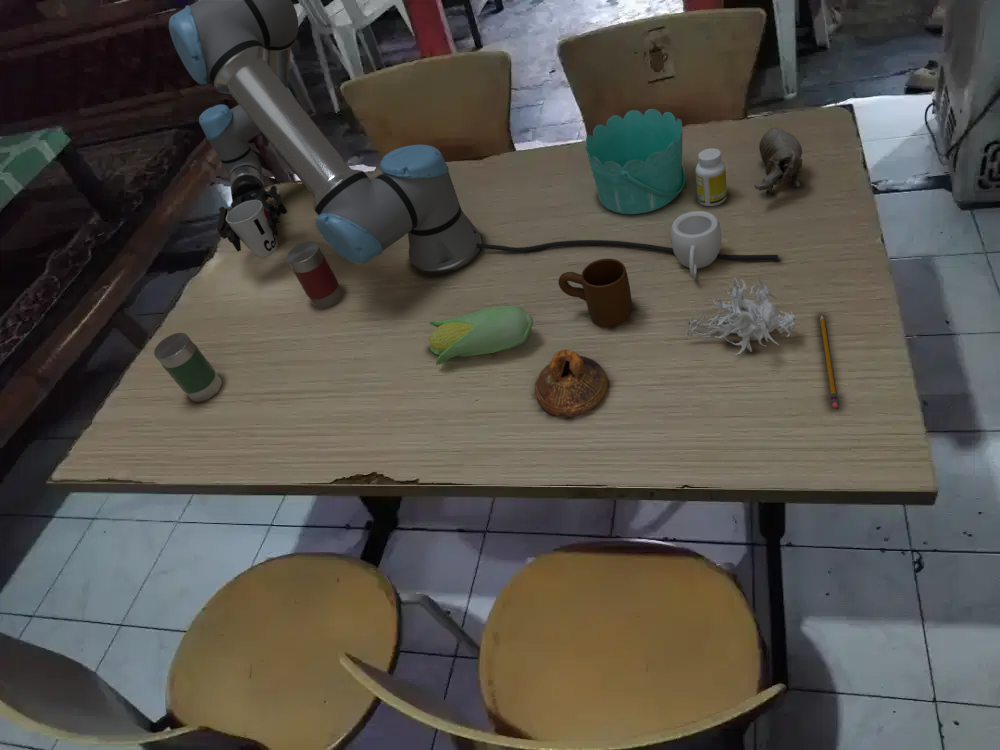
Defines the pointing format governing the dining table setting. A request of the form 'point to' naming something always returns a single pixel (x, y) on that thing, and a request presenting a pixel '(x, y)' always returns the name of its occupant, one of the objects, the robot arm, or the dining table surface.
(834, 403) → the pencil
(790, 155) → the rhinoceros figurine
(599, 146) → the bucket
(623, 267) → the mug
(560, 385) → the bell
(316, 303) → the maroon can
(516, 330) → the corn
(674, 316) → the dining table surface
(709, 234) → the mug
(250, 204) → the cup
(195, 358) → the green can
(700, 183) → the supplement bottle
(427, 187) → the robot arm
